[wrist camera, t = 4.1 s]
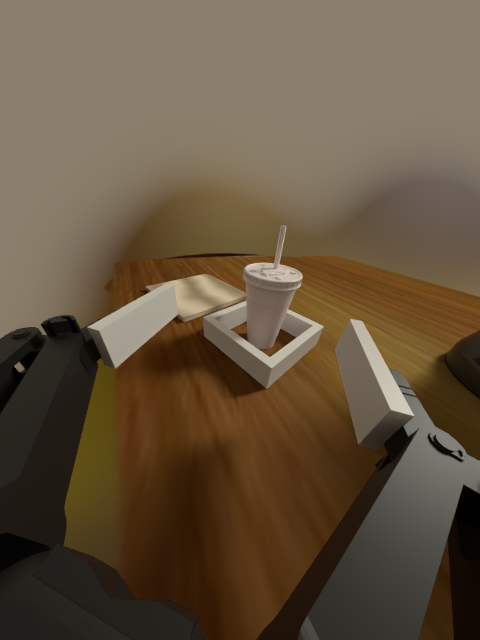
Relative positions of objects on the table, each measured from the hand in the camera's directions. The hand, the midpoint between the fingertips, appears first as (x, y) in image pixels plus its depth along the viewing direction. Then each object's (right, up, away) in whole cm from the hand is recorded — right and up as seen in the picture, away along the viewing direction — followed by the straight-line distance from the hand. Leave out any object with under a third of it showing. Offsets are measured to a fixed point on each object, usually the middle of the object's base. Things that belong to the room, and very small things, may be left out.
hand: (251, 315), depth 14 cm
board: (-9, +5, +21) cm, 24 cm away
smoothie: (+2, -3, +11) cm, 12 cm away
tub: (+2, -3, +11) cm, 12 cm away
